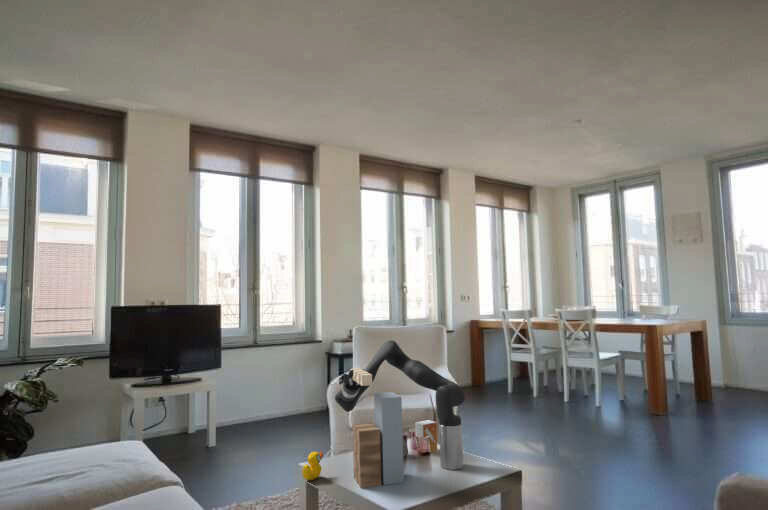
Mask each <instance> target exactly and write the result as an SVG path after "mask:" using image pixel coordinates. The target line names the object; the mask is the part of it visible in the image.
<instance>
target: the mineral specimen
mask: <svg viewBox="0 0 768 510" xmlns="http://www.w3.org/2000/svg"><path fill="white" fill-rule="evenodd" d="M408 455H409V449H408V444H407V442H406V441H405V440H404V438H403V457H405V456H408Z"/></svg>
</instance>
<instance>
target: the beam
mask: <svg viewBox="0 0 768 510" xmlns="http://www.w3.org/2000/svg"><path fill="white" fill-rule="evenodd" d="M362 369H363V368H359V367H358V368H350V371H351V370H353V377H352V380H354V381H356V382H357V383H359V384H360V385H362V386H368V385H370V386H373V382H372V374H370V373H368V372H366V371H364V370H365V369H364V370H362Z"/></svg>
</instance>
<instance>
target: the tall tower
mask: <svg viewBox="0 0 768 510" xmlns="http://www.w3.org/2000/svg"><path fill="white" fill-rule="evenodd" d="M373 407H374V408H373V409H374V411H373V412H374V425H375V426H376V427H378V428H379V429H380V455H381V484H382V485H383V486H388V485H394V484H403V483H405V473H404V472H405V471H404V456H403V439H404V438H403V437H404V436H403V403H402V396H401V395H398V394H397V393H395V392H393V391H389V392H375V393H374V392H373Z"/></svg>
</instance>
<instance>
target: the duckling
mask: <svg viewBox="0 0 768 510" xmlns="http://www.w3.org/2000/svg"><path fill="white" fill-rule="evenodd" d="M323 456H324V455H323V452H322V451H320V453H319V452H318V451H312V452H310V454H309V455H308V456H307V463H308V464H304V465H303V467H302V476H303V479H305V480H307V481H313V480H316V479H318V478H319V476H320V475H321V473H322V465H321V464H320V463H321V460H322V459H323Z"/></svg>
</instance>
